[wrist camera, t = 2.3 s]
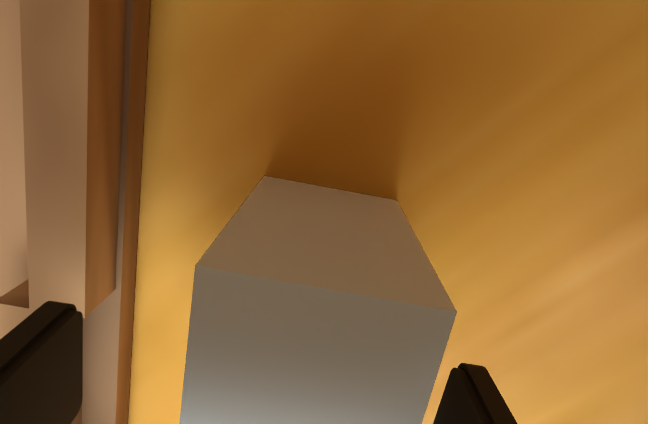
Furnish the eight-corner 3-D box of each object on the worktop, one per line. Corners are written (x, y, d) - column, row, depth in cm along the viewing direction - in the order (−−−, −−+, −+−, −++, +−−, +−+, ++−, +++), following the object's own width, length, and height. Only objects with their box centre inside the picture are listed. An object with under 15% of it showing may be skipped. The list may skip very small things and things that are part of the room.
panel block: (396, 199, 16) (456, 311, 8) (353, 375, 18) (367, 594, 10) (264, 175, 15) (195, 265, 8) (238, 356, 18) (165, 562, 10)
